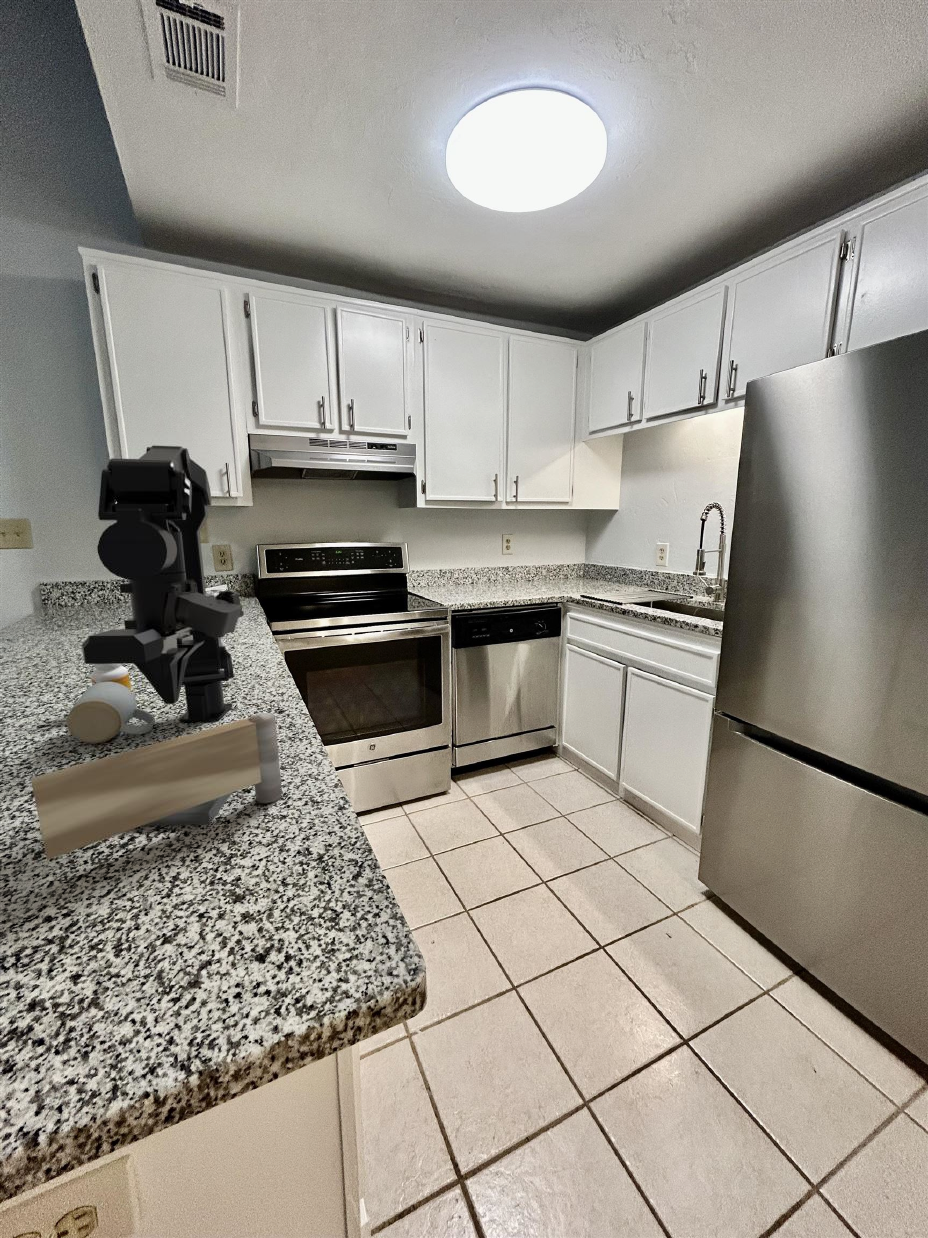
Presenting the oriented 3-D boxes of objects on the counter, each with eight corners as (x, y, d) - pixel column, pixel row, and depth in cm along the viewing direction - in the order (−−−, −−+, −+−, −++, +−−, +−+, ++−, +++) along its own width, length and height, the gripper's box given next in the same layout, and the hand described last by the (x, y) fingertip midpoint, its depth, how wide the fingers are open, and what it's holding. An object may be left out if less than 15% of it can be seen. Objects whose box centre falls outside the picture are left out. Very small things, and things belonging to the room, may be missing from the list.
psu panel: (126, 774, 68) (124, 760, 68) (248, 770, 69) (246, 757, 68) (62, 829, 56) (59, 813, 56) (209, 824, 57) (207, 808, 57)
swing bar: (49, 872, 49) (30, 776, 47) (275, 787, 64) (268, 710, 62) (53, 889, 47) (32, 788, 45) (286, 796, 62) (279, 718, 60)
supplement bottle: (140, 705, 92) (133, 653, 90) (118, 717, 87) (109, 662, 85) (113, 704, 93) (105, 652, 90) (89, 715, 87) (79, 661, 85)
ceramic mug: (66, 750, 75) (58, 701, 73) (85, 728, 82) (78, 683, 81) (149, 740, 78) (143, 693, 77) (160, 720, 86) (155, 676, 84)
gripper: (183, 580, 49) (199, 733, 52) (259, 566, 67) (268, 680, 70) (68, 581, 49) (90, 734, 52) (175, 567, 67) (187, 680, 70)
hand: (171, 703), depth 61 cm, fingers closed
